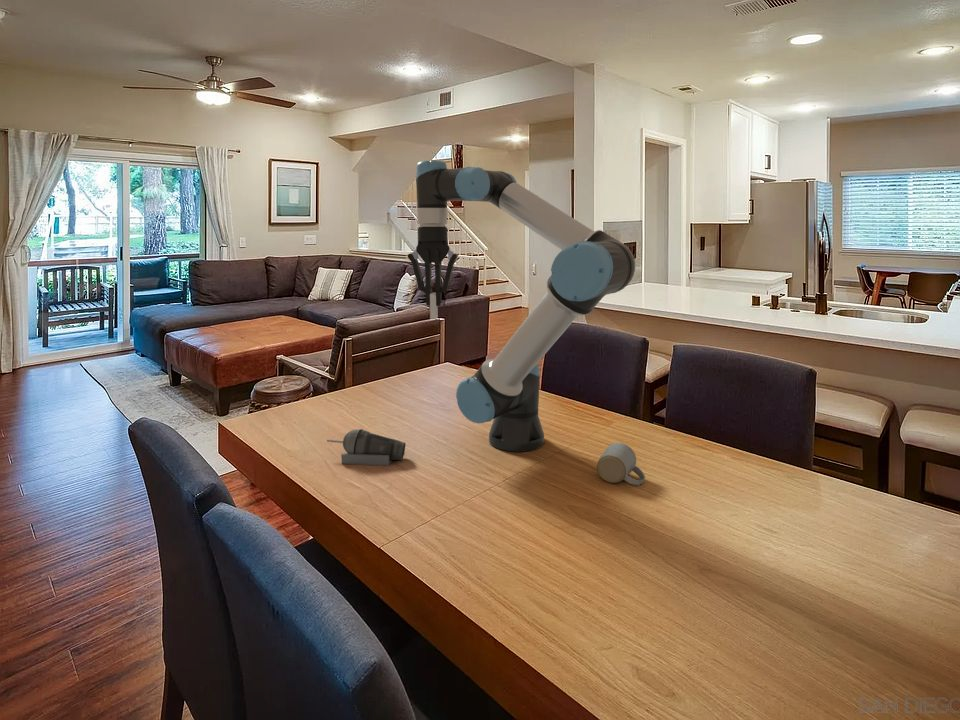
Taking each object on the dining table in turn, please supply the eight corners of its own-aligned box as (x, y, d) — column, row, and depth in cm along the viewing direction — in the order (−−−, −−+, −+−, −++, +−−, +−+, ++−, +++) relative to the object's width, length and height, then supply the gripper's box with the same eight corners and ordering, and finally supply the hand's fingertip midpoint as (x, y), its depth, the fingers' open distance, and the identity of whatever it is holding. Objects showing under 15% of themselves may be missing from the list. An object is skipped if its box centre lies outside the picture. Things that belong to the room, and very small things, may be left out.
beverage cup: (400, 451, 143) (320, 437, 144) (399, 471, 148) (322, 457, 149) (407, 431, 149) (331, 417, 150) (406, 450, 154) (332, 437, 154)
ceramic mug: (594, 481, 137) (596, 450, 135) (604, 468, 144) (606, 439, 142) (639, 491, 132) (642, 460, 130) (648, 478, 139) (650, 448, 137)
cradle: (398, 449, 156) (398, 440, 155) (388, 465, 145) (388, 456, 145) (354, 447, 157) (354, 439, 156) (341, 463, 146) (341, 454, 146)
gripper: (459, 225, 151) (460, 316, 156) (410, 225, 152) (412, 315, 157) (456, 225, 143) (456, 321, 149) (403, 225, 145) (406, 320, 150)
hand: (434, 318), depth 153 cm, fingers closed
